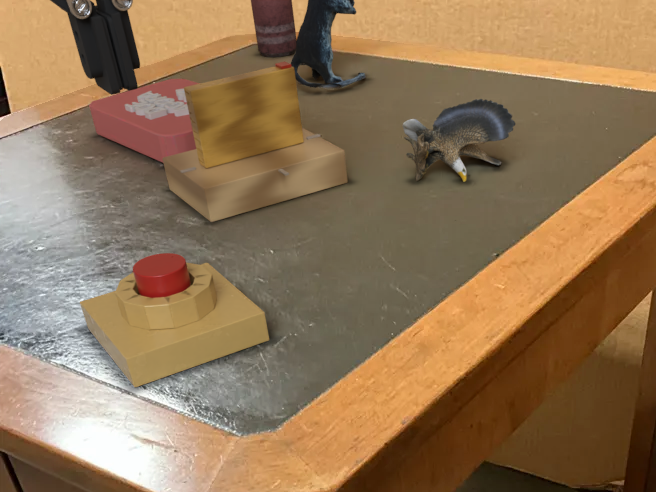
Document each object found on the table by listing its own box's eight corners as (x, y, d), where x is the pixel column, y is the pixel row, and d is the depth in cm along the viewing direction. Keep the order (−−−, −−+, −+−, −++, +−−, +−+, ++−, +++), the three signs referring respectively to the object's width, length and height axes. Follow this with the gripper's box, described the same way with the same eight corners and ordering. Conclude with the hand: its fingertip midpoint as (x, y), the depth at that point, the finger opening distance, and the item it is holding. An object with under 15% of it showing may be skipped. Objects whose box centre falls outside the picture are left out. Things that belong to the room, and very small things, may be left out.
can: (259, 48, 122) (244, -56, 114) (299, 45, 122) (286, -59, 114) (255, 58, 118) (238, -49, 110) (295, 56, 118) (282, -52, 110)
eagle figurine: (445, 188, 79) (529, 146, 80) (408, 108, 77) (495, 68, 79) (419, 208, 86) (496, 169, 88) (385, 136, 84) (465, 98, 86)
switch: (134, 388, 59) (118, 334, 57) (88, 329, 66) (71, 278, 63) (269, 340, 63) (260, 287, 60) (213, 288, 69) (202, 239, 67)
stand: (219, 230, 78) (212, 194, 76) (160, 183, 87) (152, 150, 85) (360, 189, 83) (357, 153, 81) (290, 148, 92) (286, 116, 90)
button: (149, 305, 60) (143, 281, 59) (131, 286, 63) (124, 262, 61) (199, 289, 62) (193, 265, 60) (179, 271, 64) (174, 248, 63)
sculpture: (386, 86, 106) (376, -65, 96) (296, 98, 105) (277, -54, 95) (373, 68, 112) (362, -76, 102) (288, 78, 111) (269, -66, 101)
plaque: (289, 93, 93) (165, 132, 86) (295, 131, 96) (175, 172, 89) (197, 64, 103) (80, 97, 96) (204, 100, 106) (90, 134, 99)
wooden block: (206, 168, 80) (189, 88, 76) (199, 164, 81) (182, 84, 77) (304, 142, 84) (294, 64, 80) (296, 138, 85) (286, 60, 81)
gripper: (131, -344, 46) (208, 50, 58) (-181, -329, 41) (-25, 101, 53) (187, -361, 41) (257, 73, 54) (-160, -346, 36) (6, 132, 48)
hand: (117, 86), depth 53 cm, fingers closed
